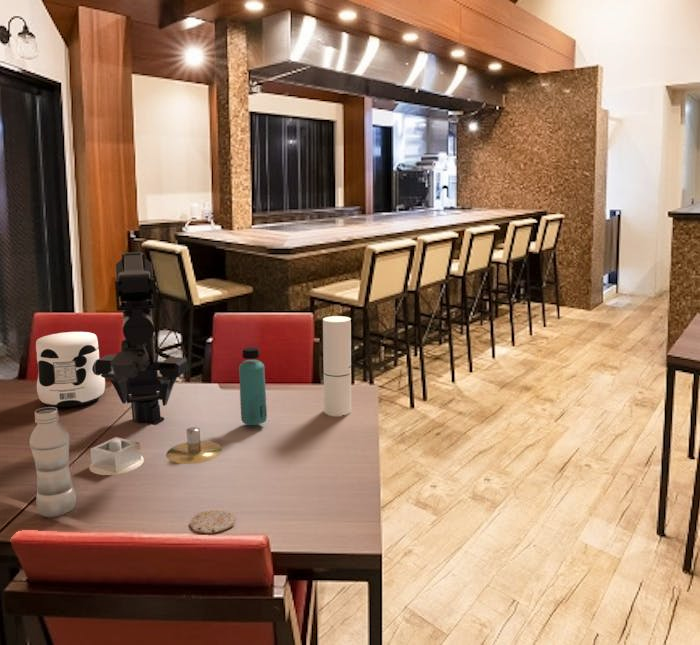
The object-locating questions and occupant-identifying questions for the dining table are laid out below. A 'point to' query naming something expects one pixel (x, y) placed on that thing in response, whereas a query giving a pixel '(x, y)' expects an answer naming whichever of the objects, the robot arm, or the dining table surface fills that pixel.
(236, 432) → the dining table surface
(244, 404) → the beverage bottle
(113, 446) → the stand
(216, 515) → the flatbread
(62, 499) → the plastic bottle
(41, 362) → the milk container
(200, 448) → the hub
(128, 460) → the collar
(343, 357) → the cylindrical container
